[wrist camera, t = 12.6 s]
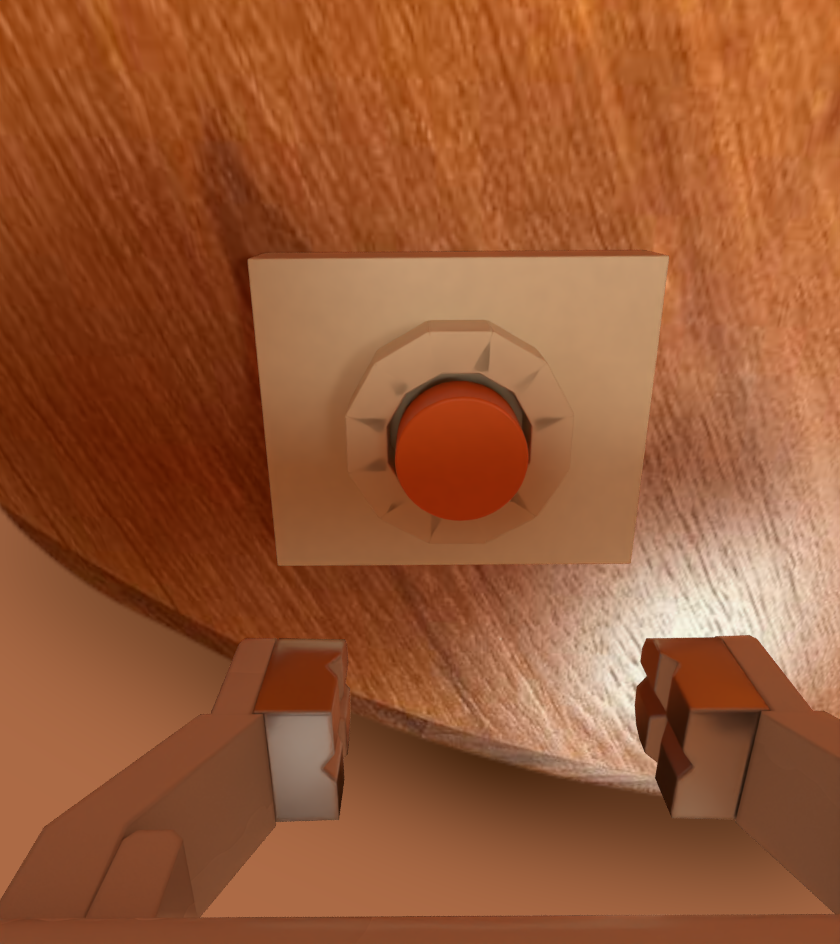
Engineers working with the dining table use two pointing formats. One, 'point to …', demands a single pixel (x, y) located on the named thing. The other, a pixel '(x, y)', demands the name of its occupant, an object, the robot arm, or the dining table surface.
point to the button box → (455, 359)
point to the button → (460, 451)
